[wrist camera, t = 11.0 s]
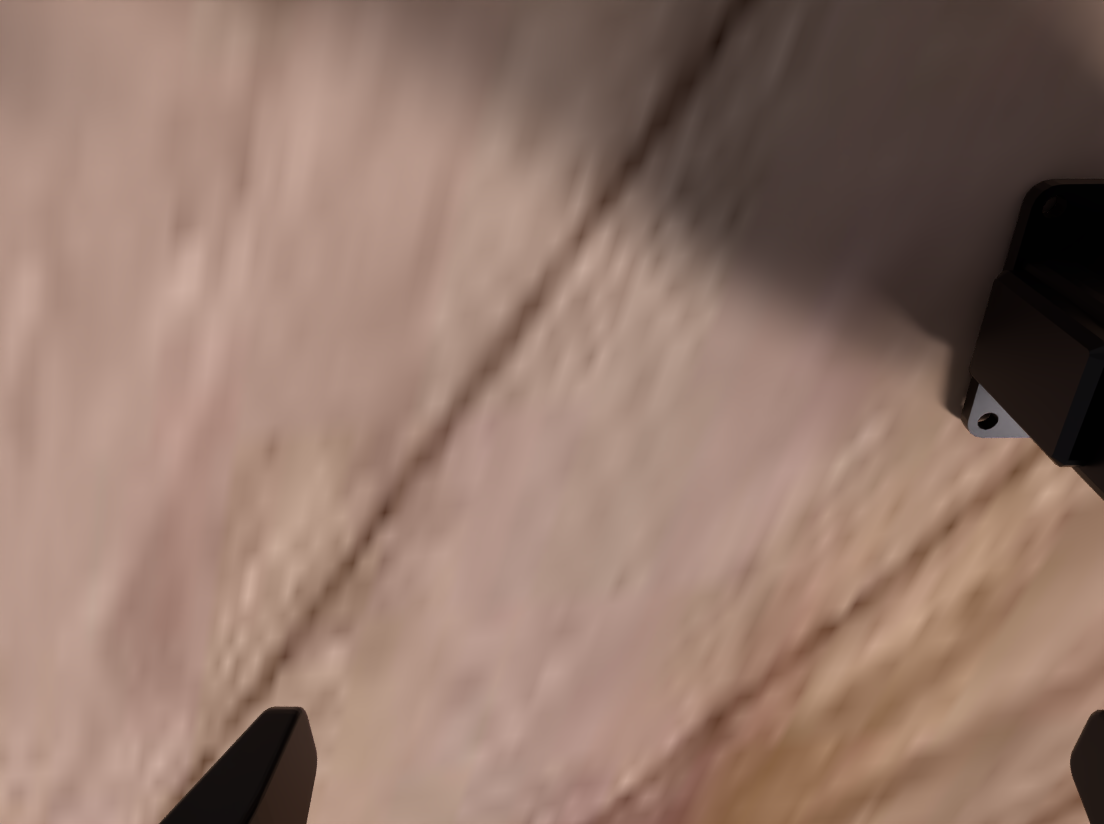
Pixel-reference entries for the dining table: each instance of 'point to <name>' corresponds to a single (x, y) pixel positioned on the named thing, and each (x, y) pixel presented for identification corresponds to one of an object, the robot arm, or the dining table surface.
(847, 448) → the dining table surface
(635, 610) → the dining table surface
